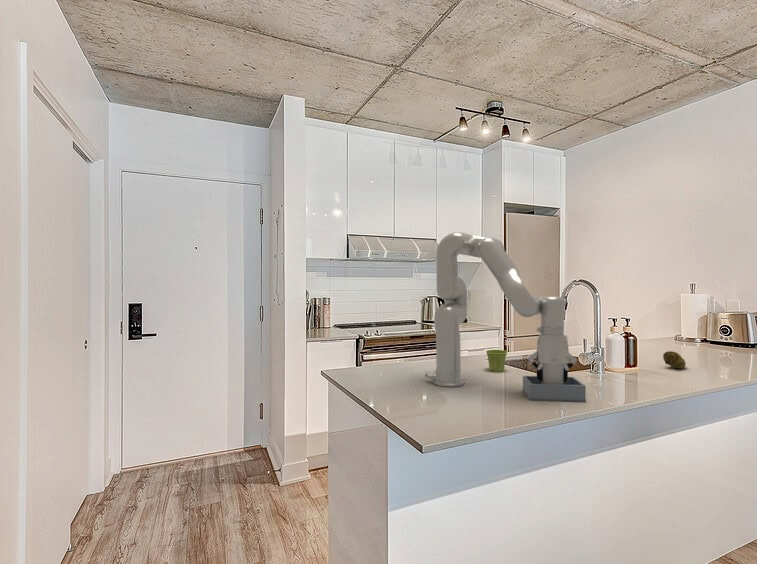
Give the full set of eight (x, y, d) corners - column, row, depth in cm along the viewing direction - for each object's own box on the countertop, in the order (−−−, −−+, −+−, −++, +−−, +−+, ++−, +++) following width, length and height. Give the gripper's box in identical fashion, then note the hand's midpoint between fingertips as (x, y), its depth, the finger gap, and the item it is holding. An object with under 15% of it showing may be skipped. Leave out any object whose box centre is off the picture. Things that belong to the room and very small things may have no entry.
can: (565, 394, 144) (566, 359, 143) (542, 392, 145) (542, 358, 145) (560, 388, 151) (561, 355, 151) (538, 387, 153) (539, 354, 152)
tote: (530, 400, 143) (530, 384, 143) (522, 390, 155) (522, 375, 155) (585, 401, 141) (585, 385, 141) (573, 391, 153) (573, 376, 153)
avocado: (694, 369, 186) (695, 351, 186) (673, 371, 182) (673, 353, 182) (676, 365, 194) (676, 348, 194) (655, 367, 190) (655, 350, 190)
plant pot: (485, 372, 184) (485, 352, 183) (486, 367, 193) (486, 349, 192) (507, 373, 181) (507, 353, 181) (507, 369, 190) (507, 350, 190)
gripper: (529, 332, 145) (528, 382, 146) (582, 333, 143) (581, 384, 143) (524, 329, 153) (524, 377, 153) (574, 330, 150) (574, 378, 151)
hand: (552, 380), depth 148 cm, fingers closed on can, 7 cm apart
